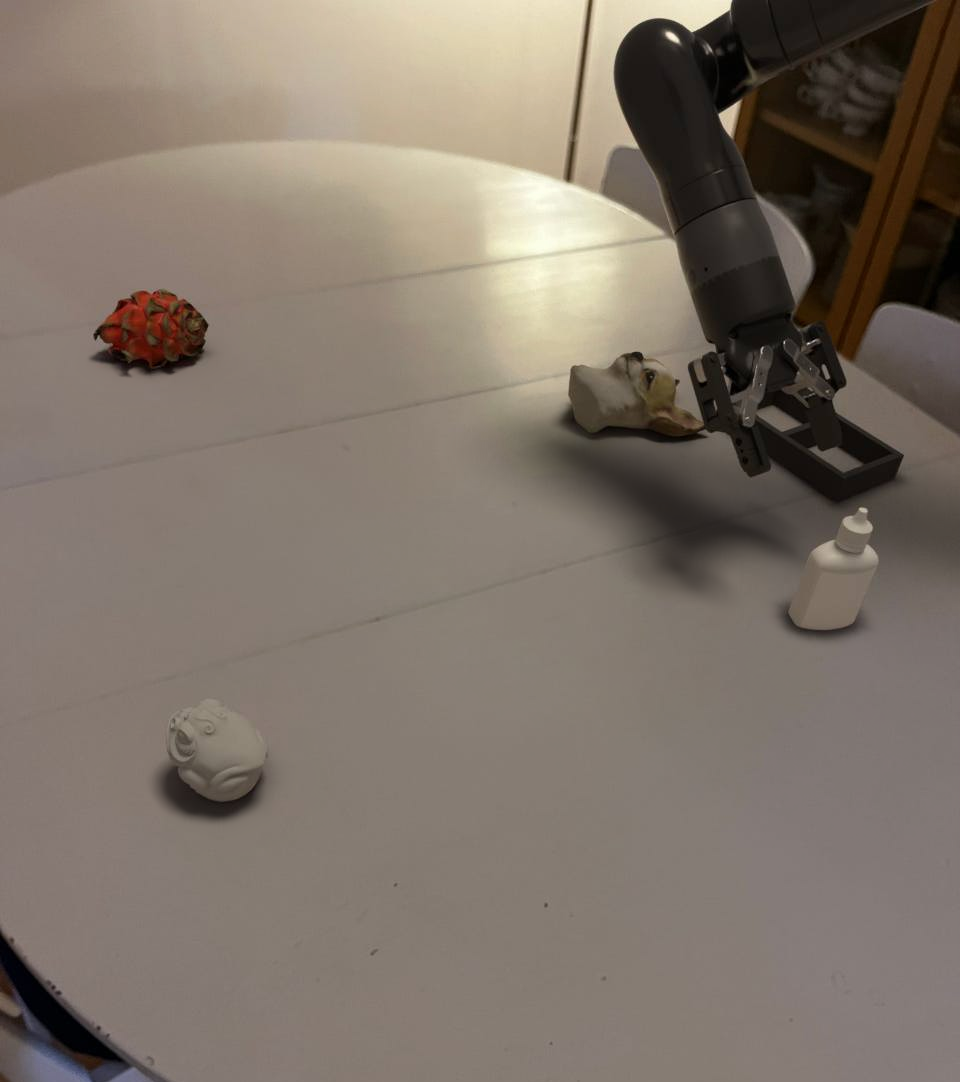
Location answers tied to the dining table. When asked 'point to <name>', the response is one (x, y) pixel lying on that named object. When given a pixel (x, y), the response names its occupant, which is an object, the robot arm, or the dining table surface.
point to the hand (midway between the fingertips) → (796, 460)
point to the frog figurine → (216, 750)
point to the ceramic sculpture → (629, 397)
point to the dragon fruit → (153, 328)
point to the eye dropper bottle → (836, 578)
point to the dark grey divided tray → (813, 469)
